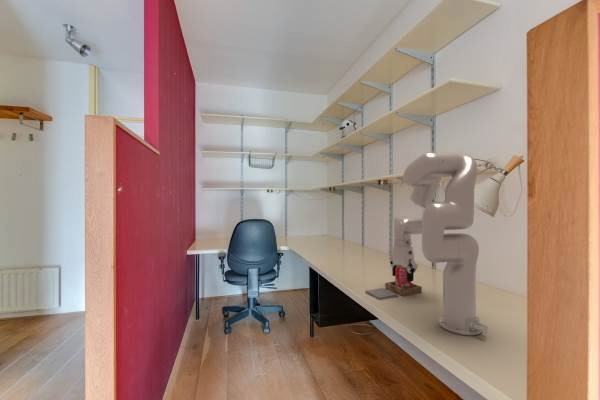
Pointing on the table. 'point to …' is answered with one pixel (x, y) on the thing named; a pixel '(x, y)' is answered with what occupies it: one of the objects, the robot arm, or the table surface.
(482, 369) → the table surface
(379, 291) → the mat
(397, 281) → the soda can
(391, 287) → the brown wooden tray
